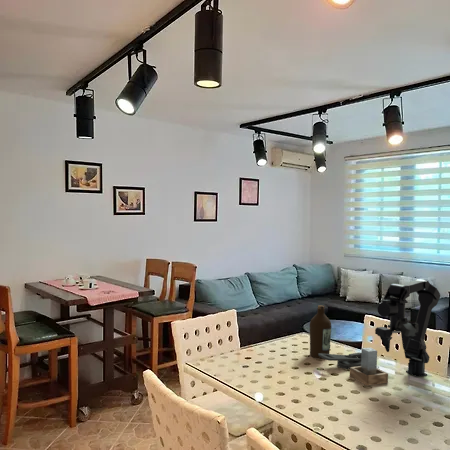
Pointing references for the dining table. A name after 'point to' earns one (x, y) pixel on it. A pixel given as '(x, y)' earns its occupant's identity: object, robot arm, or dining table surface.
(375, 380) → the well
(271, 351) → the dining table surface
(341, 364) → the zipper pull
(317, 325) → the olive oil
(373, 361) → the bracket post
